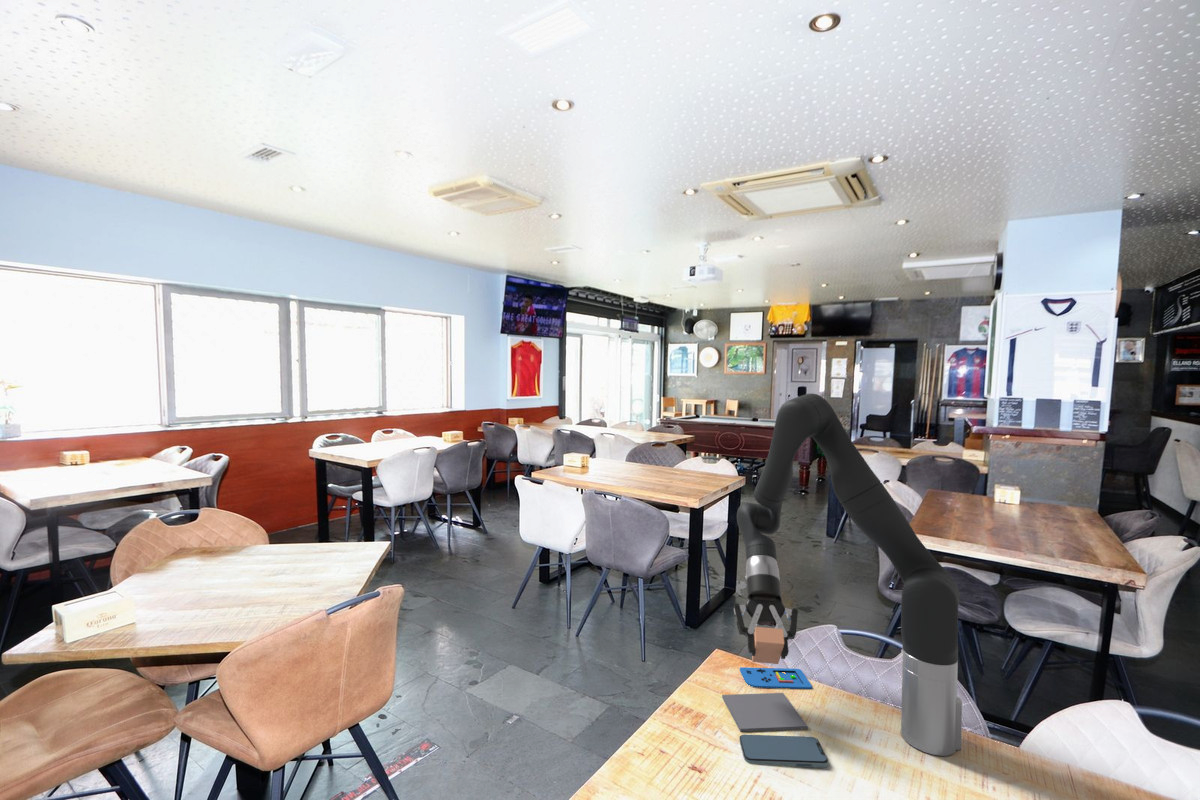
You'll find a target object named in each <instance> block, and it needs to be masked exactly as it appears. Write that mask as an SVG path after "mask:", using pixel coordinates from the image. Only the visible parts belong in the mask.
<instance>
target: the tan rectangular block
mask: <svg viewBox="0 0 1200 800" xmlns="http://www.w3.org/2000/svg"><path fill="white" fill-rule="evenodd" d="M754 639H755V651H756V654H755V656H752V655H751V659H752V660H751V661H752V663H753V662H754V663H763V664H772V665H779V663H780V659H781V652H782V650H783V647H784V635H783V629H776V628H774V627H773V628H772V627H763V626H757V627H755V632H754Z"/></svg>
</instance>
